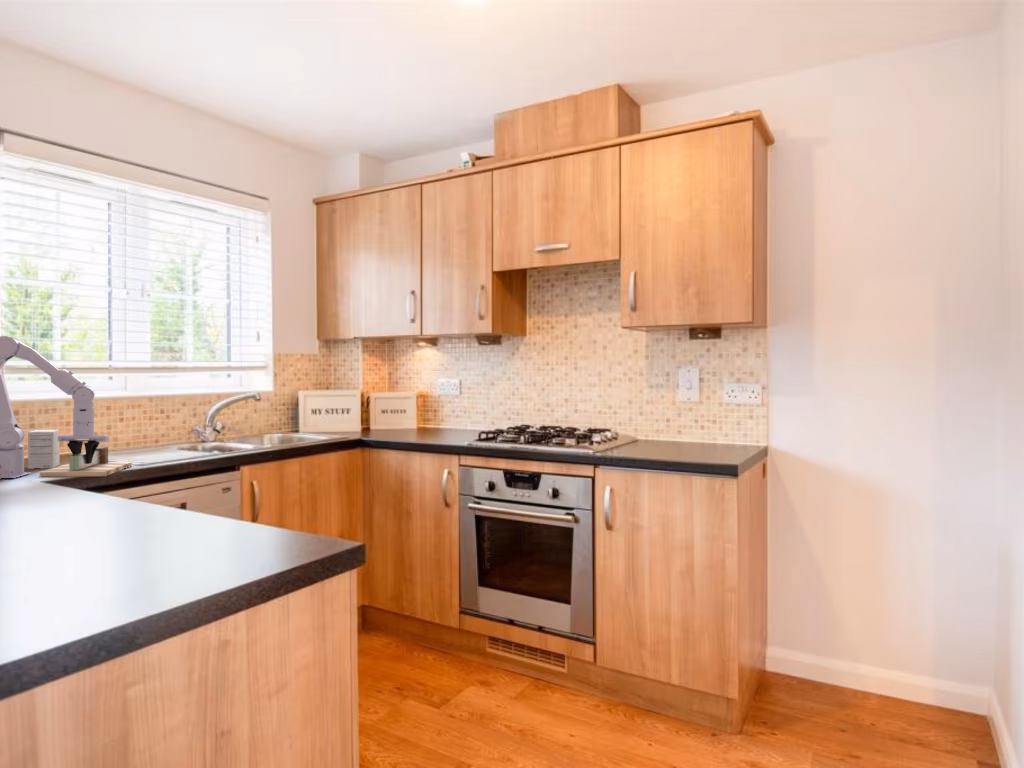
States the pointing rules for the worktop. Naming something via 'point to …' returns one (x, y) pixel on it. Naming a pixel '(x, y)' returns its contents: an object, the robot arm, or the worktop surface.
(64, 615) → the worktop surface
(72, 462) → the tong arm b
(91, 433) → the robot arm
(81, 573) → the worktop surface
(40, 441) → the supplement box
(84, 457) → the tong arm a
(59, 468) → the tong board
